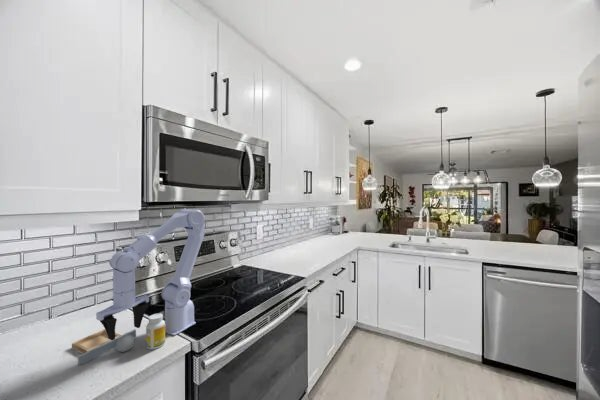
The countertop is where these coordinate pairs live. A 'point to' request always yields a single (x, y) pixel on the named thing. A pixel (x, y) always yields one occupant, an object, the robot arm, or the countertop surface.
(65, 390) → the countertop surface
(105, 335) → the wooden dish
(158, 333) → the supplement bottle
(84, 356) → the acrylic wall
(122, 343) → the ball
